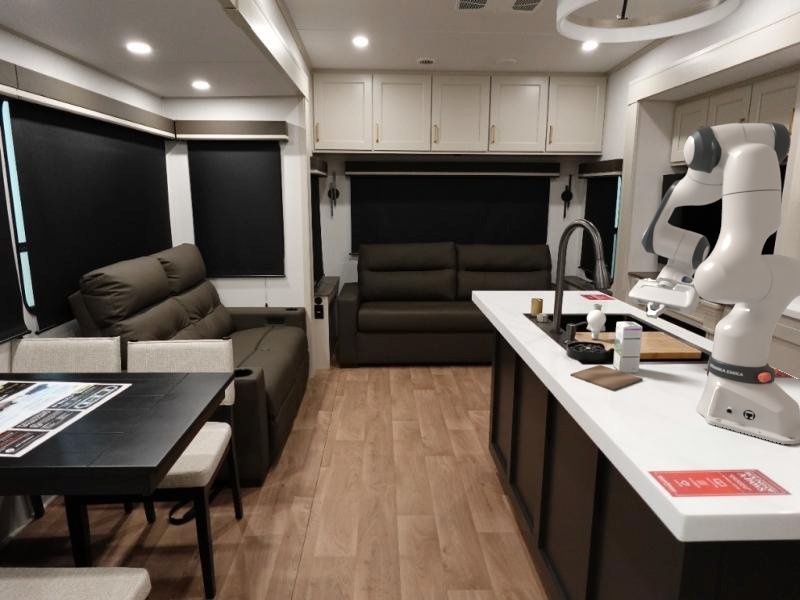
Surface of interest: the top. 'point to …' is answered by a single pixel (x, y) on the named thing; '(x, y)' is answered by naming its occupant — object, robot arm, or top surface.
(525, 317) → the top surface
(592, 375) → the walnut board
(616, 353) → the syrup box
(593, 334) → the lightbulb
